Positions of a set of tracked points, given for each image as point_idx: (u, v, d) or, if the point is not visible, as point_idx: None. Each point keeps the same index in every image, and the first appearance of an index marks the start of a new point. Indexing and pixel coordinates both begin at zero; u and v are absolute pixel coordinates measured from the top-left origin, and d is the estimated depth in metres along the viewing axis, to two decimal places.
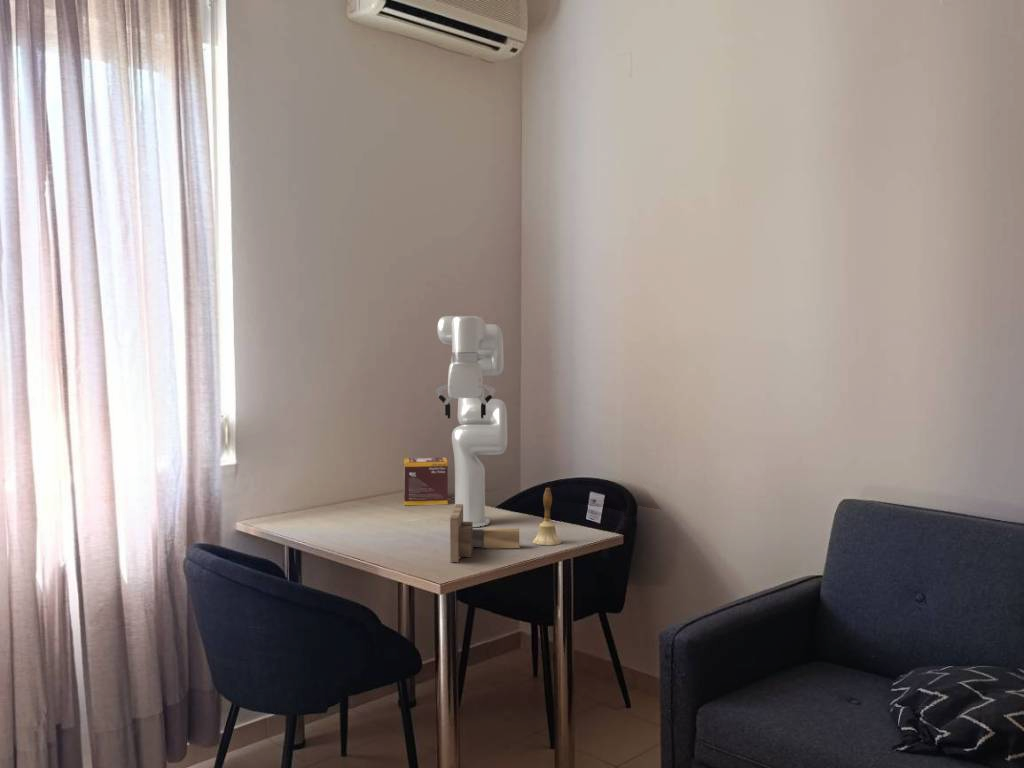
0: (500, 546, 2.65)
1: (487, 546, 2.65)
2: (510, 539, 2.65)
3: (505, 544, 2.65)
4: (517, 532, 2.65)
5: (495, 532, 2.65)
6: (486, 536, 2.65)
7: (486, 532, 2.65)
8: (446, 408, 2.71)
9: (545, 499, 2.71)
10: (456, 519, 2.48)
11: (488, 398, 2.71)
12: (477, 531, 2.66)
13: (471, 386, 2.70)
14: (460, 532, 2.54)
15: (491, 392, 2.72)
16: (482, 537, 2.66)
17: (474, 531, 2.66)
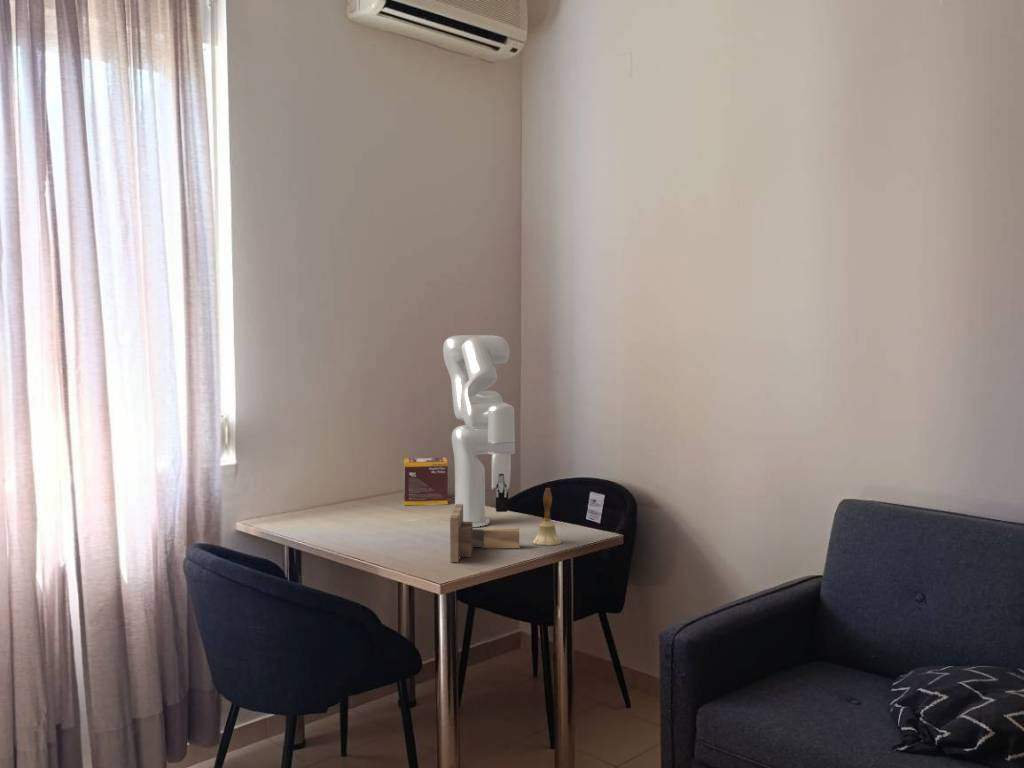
0: (500, 546, 2.65)
1: (487, 546, 2.65)
2: (510, 539, 2.65)
3: (505, 544, 2.65)
4: (517, 532, 2.65)
5: (495, 532, 2.65)
6: (486, 536, 2.65)
7: (486, 532, 2.65)
8: (504, 501, 2.60)
9: (545, 499, 2.71)
10: (456, 519, 2.48)
11: None
12: (477, 531, 2.66)
13: None
14: (460, 532, 2.54)
15: None
16: (482, 537, 2.66)
17: (474, 531, 2.66)
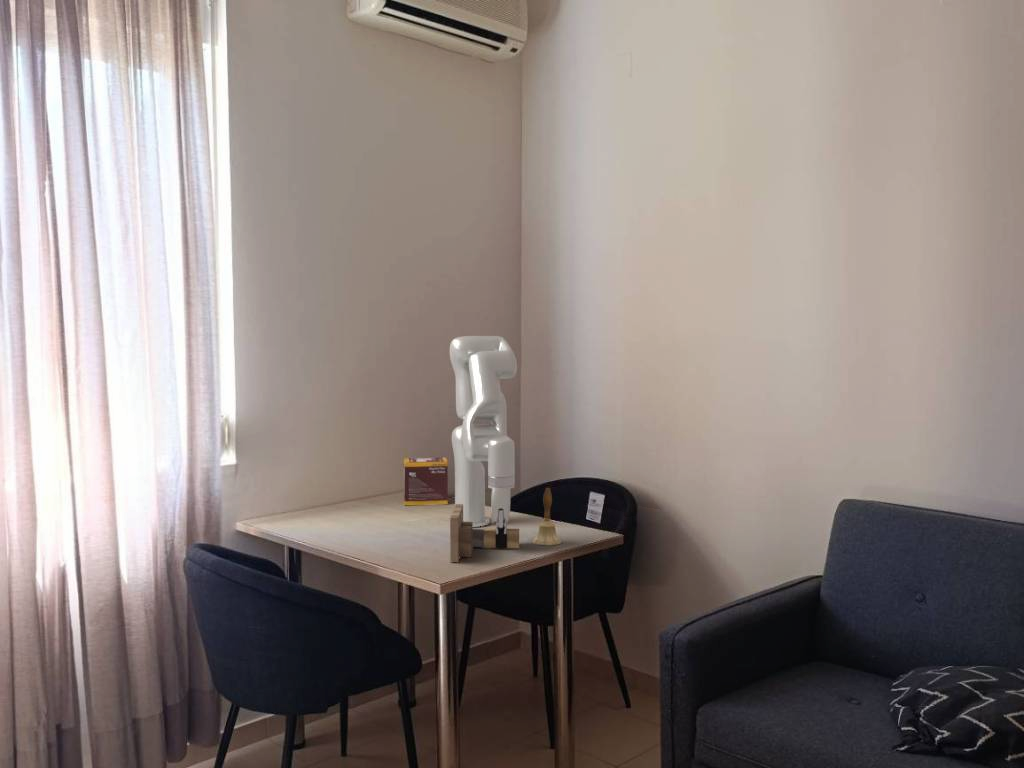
0: None
1: (487, 546, 2.65)
2: (510, 539, 2.65)
3: None
4: (517, 532, 2.65)
5: (495, 532, 2.65)
6: (486, 536, 2.65)
7: (486, 532, 2.65)
8: (504, 538, 2.64)
9: (545, 499, 2.71)
10: (456, 519, 2.48)
11: None
12: (477, 531, 2.66)
13: None
14: (460, 532, 2.54)
15: None
16: (482, 537, 2.66)
17: (474, 531, 2.66)
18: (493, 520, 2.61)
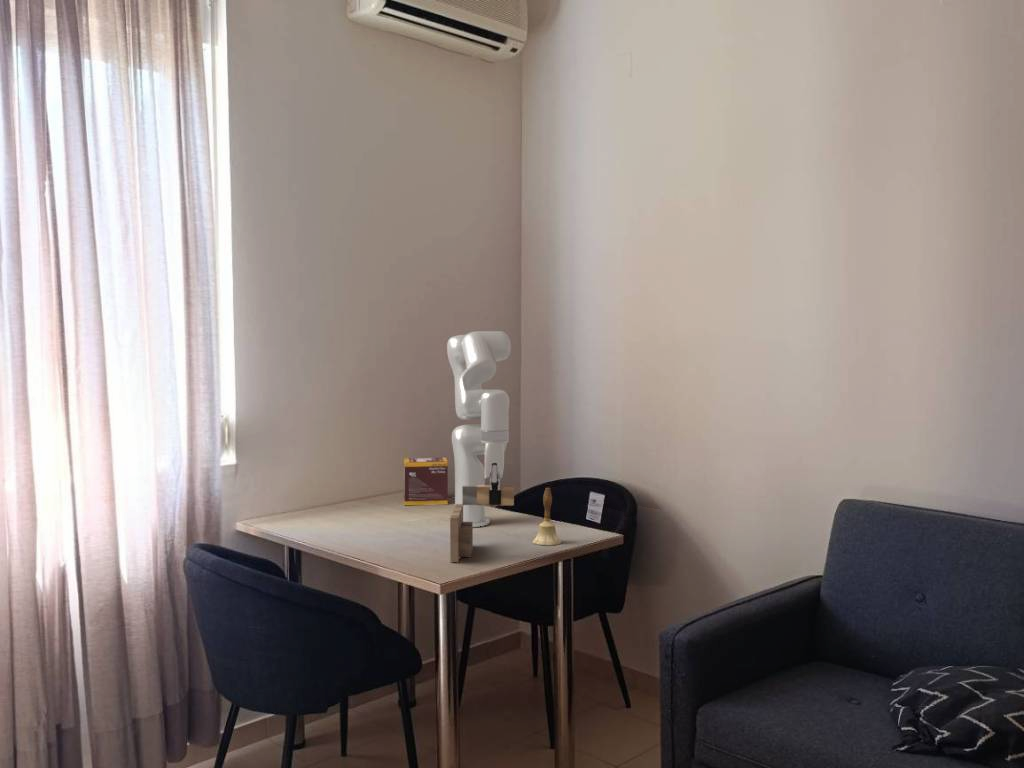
0: None
1: (480, 503, 2.56)
2: (505, 495, 2.56)
3: None
4: (511, 488, 2.56)
5: (489, 488, 2.56)
6: (479, 492, 2.56)
7: (479, 488, 2.56)
8: (498, 494, 2.55)
9: (545, 499, 2.71)
10: (456, 519, 2.48)
11: None
12: (470, 487, 2.57)
13: None
14: (460, 532, 2.54)
15: None
16: (475, 494, 2.57)
17: (467, 487, 2.57)
18: (486, 475, 2.52)
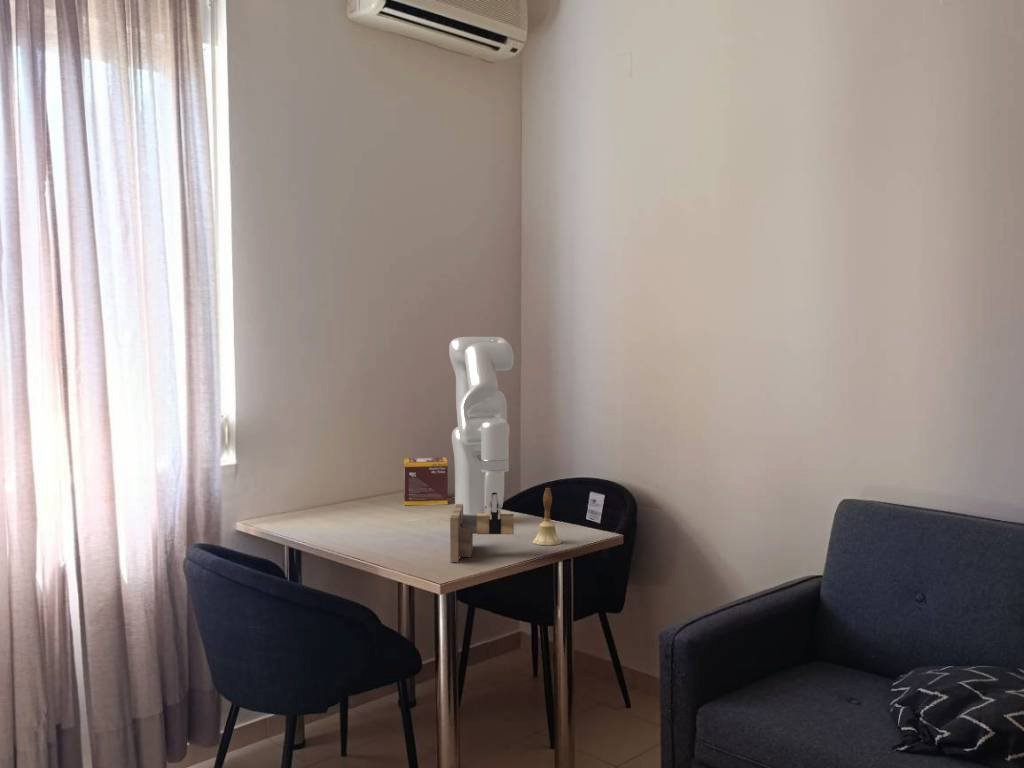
0: None
1: (480, 532, 2.57)
2: (505, 524, 2.56)
3: None
4: (511, 517, 2.56)
5: (489, 517, 2.56)
6: (479, 521, 2.56)
7: (479, 517, 2.56)
8: (497, 523, 2.55)
9: (545, 499, 2.71)
10: (456, 519, 2.48)
11: None
12: (470, 516, 2.57)
13: None
14: (460, 532, 2.54)
15: None
16: (475, 522, 2.57)
17: (467, 516, 2.57)
18: (486, 505, 2.53)
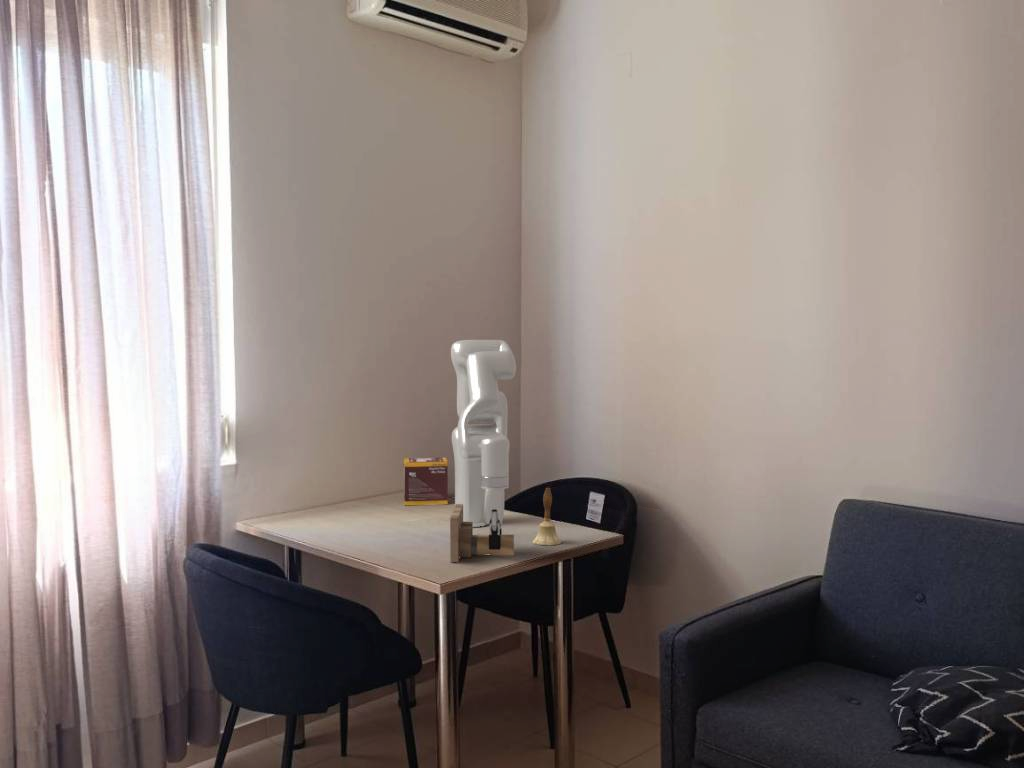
0: (494, 553, 2.57)
1: (480, 553, 2.57)
2: (505, 545, 2.57)
3: (499, 550, 2.57)
4: (511, 538, 2.57)
5: None
6: (480, 542, 2.57)
7: (479, 538, 2.57)
8: (497, 539, 2.54)
9: (545, 499, 2.71)
10: (456, 519, 2.48)
11: None
12: None
13: None
14: (460, 532, 2.54)
15: None
16: (475, 543, 2.58)
17: None
18: (486, 521, 2.53)
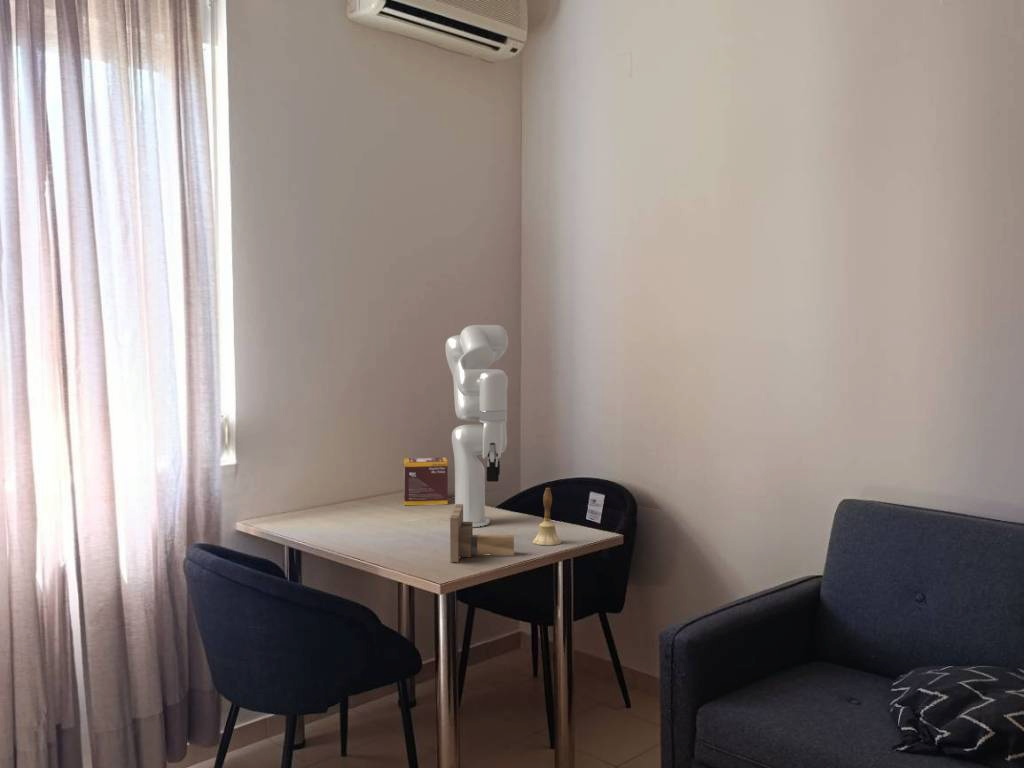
0: (494, 553, 2.57)
1: (480, 553, 2.57)
2: (505, 545, 2.57)
3: (499, 551, 2.57)
4: (511, 538, 2.57)
5: (489, 538, 2.57)
6: (480, 542, 2.57)
7: (479, 538, 2.57)
8: (495, 471, 2.54)
9: (545, 499, 2.71)
10: (456, 519, 2.48)
11: None
12: None
13: None
14: (460, 532, 2.54)
15: None
16: (475, 543, 2.58)
17: None
18: (484, 455, 2.54)
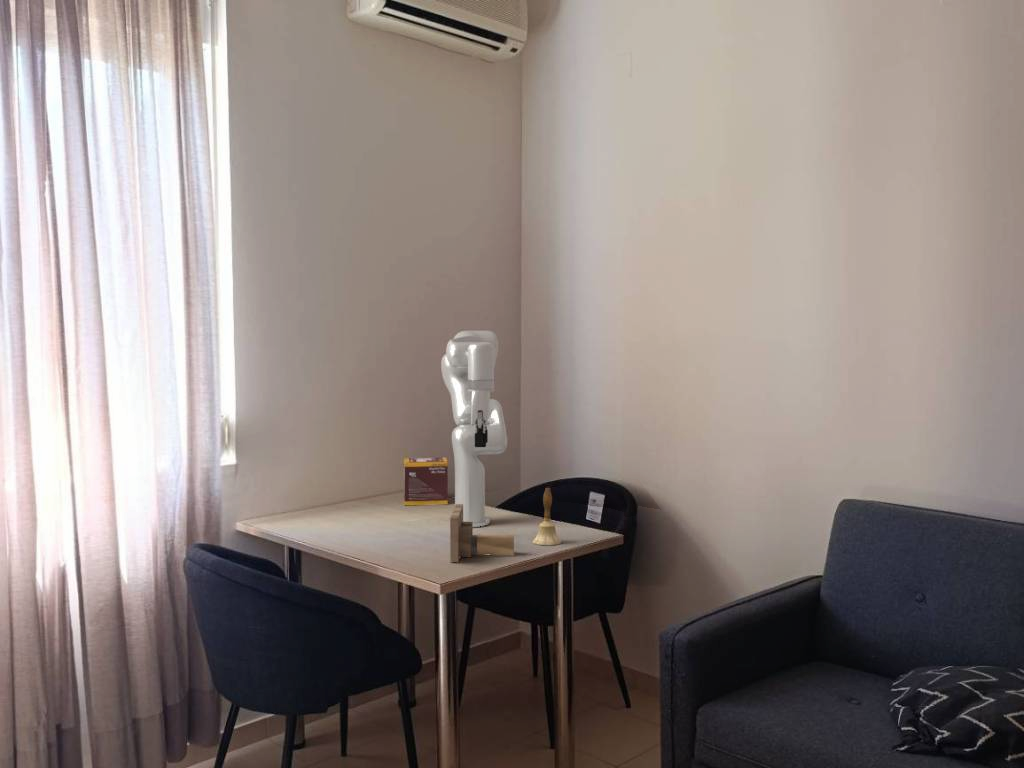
0: (494, 553, 2.57)
1: (480, 553, 2.57)
2: (505, 545, 2.57)
3: (499, 550, 2.57)
4: (511, 538, 2.57)
5: (489, 538, 2.57)
6: (480, 542, 2.57)
7: (479, 538, 2.57)
8: (483, 437, 2.67)
9: (545, 499, 2.71)
10: (456, 519, 2.48)
11: None
12: None
13: (489, 412, 2.73)
14: (460, 532, 2.54)
15: None
16: (475, 543, 2.58)
17: None
18: (472, 422, 2.67)
